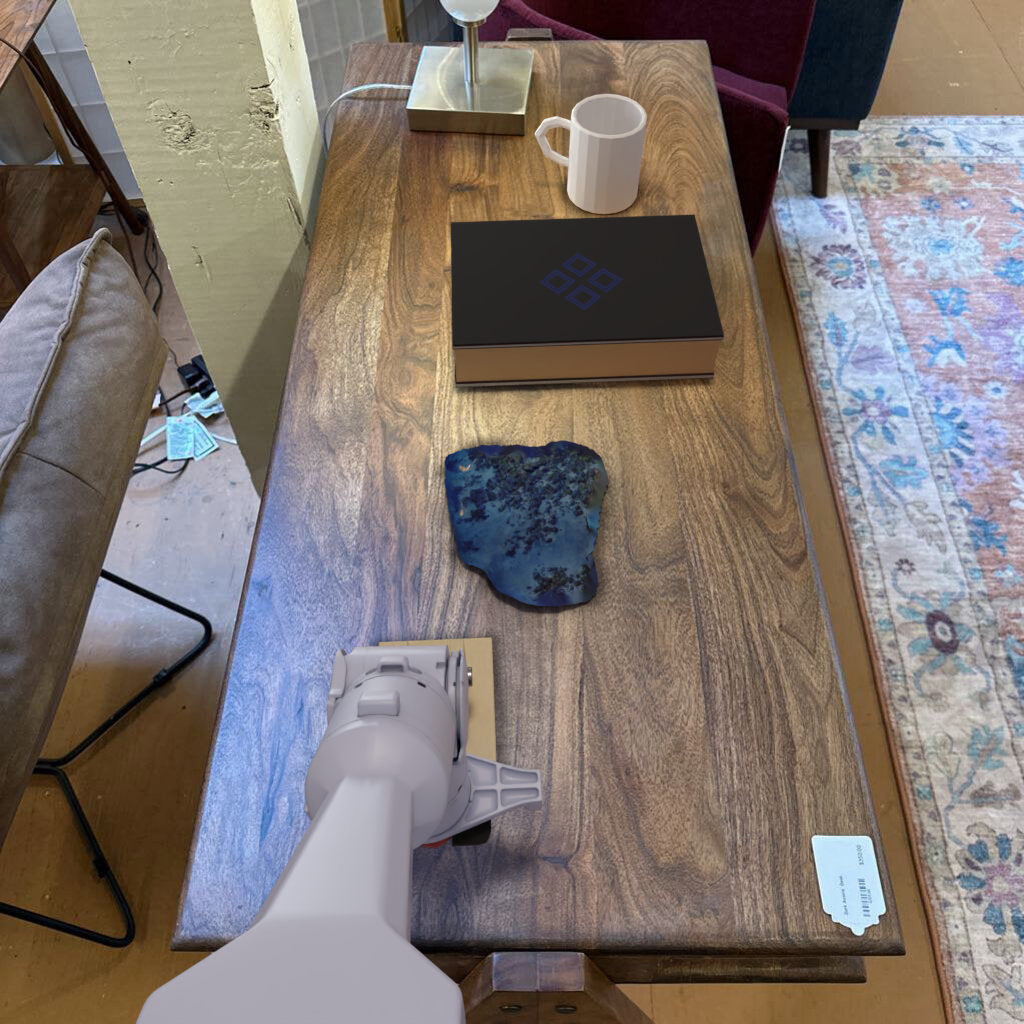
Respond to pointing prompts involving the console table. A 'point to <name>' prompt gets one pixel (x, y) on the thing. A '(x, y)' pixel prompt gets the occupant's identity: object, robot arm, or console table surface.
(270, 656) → the console table surface
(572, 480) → the rock
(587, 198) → the mug
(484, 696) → the bracket
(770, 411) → the console table surface
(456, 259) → the book
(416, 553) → the console table surface
